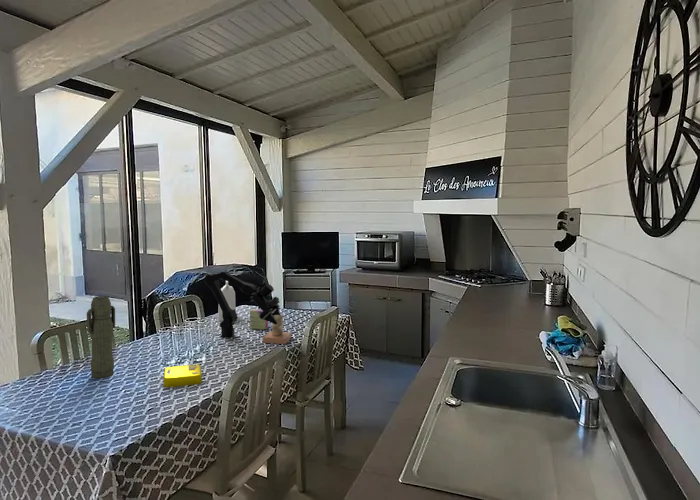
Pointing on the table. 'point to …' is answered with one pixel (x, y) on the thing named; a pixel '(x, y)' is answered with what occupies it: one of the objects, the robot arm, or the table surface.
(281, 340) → the base
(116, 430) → the table surface
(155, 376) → the table surface
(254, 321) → the box
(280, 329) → the post
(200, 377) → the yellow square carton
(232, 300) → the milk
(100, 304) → the thermos
